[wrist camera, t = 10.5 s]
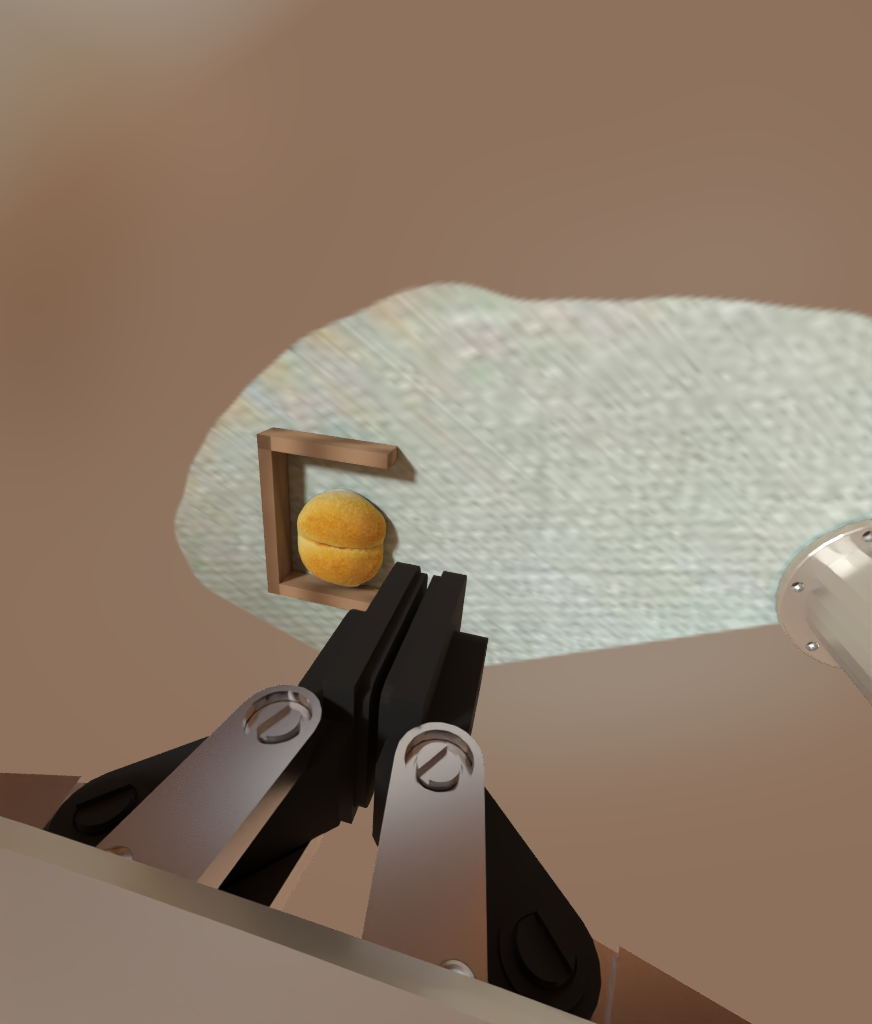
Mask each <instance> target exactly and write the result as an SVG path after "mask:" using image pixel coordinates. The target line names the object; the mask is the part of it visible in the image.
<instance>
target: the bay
mask: <svg viewBox="0 0 872 1024" xmlns="http://www.w3.org/2000/svg"><path fill="white" fill-rule="evenodd" d="M257 443H258V456H259V470H260V484H261V498H262V512H263V525H264V539H265V553H266V567H267V580H268V592H270V593H274V594H279V595H284V596H288V597H293V598H297V599H302V600H307V601H311V602H316V603H320V604H325V605H329V606H334V607H339V608H343V609H348V610H351V609H357V610H362V611H366V610H367V608H368V607H369V605H370V603H371V602H372V600H373V599H374V597H375V595H376V594H377V592H378V591H379V589H378V588H373V587H368V586H364V585H359V586H354V587H348V586H343V585H337V584H333V583H331V582H327V581H325V580H322V579H320V578H318V577H316V576H315V575H311V574H306V573H301V572H296V571H293V570H292V548H291V527H290V505H289V484H288V462H287V453H290V454H296V455H302V456H308V457H315V458H321V459H327V460H333V461H339V462H346V463H352V464H358V465H364V466H370V467H377V468H383V469H388V468H389V467H390V466H391V465H392V464H393V463H394V462H395V461H396V458H397V446H393V445H386V444H379V443H373V442H366V441H360V440H353V439H346V438H340V437H333V436H327V435H320V434H313V433H307V432H300V431H293V430H287V429H280V428H274V427H273V428H271V429H268V430H266V431H263V432H261V433H259V434H257Z"/></svg>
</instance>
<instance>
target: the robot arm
mask: <svg viewBox="0 0 872 1024" xmlns="http://www.w3.org/2000/svg"><path fill="white" fill-rule="evenodd" d="M427 581H428V575H427V574H425V573H421V569H420V566H416V565H411V564H406V563H401V562H397V563H396V564H395V565H394V567H393V568H392V570H391V572H390V573H389V575H388V576H387V578H386V580H385V581H384V583H383V584H382V586H381V587H380V589H379V591H378V592H377V594H376V595H375V597H374V599H373V600H372V602H371V603H370V605H369V607H368V608H367V610H366V611H362V610H357V609H351V610H350V611H349V612H348V613H347V614H346V616H345V617H344V619H343V620H342V622H341V623H340V625H339V626H338V628H337V629H336V630H335V632H334V633H333V635H332V636H331V638H330V639H329V641H328V642H327V644H326V645H325V647H324V648H323V649H322V651H321V652H320V654H319V655H318V657H317V658H316V660H315V661H314V663H313V664H312V666H311V667H310V669H309V670H308V671H307V673H306V674H305V676H304V677H303V679H302V680H301V682H300V683H299V685H298V686H296V685H277V686H273V687H269V688H266V689H264V690H261V691H259V692H257V693H255V694H254V695H252V696H251V697H250V698H248V699H247V700H246V701H245V702H244V703H243V704H242V705H241V706H239V707H238V708H237V709H236V710H235V712H233V713H232V714H231V715H230V716H229V717H228V718H227V719H226V720H225V721H224V722H223V723H222V724H221V725H220V726H219V727H218V728H217V729H216V730H215V731H214V732H213V733H212V734H211V735H210V736H208V737H205V738H202V739H200V740H197V741H194V742H192V743H189V744H186V745H183V746H180V747H178V748H175V749H172V750H169V751H167V752H164V753H161V754H158V755H155V756H153V757H150V758H147V759H144V760H142V761H139V762H136V763H133V764H131V765H128V766H125V767H123V768H120V769H117V770H114V771H111V772H109V773H106V774H104V775H102V776H100V777H98V778H95V779H93V780H91V781H90V782H88V783H83V780H82V777H81V776H66V775H43V774H19V773H0V1024H751V1023H750V1022H748V1021H746V1020H745V1019H743V1018H741V1017H740V1016H738V1015H736V1014H734V1013H733V1012H731V1011H729V1010H728V1009H726V1008H724V1007H723V1006H721V1005H719V1004H717V1003H716V1002H714V1001H712V1000H710V999H709V998H707V997H706V996H704V995H702V994H700V993H699V992H697V991H695V990H694V989H692V988H690V987H689V986H687V985H685V984H683V983H682V982H680V981H678V980H677V979H675V978H673V977H672V976H670V975H668V974H666V973H665V972H663V971H661V970H660V969H658V968H656V967H654V966H653V965H651V964H649V963H647V962H646V961H644V960H642V959H641V958H639V957H637V956H636V955H634V954H632V953H631V952H629V951H627V950H626V949H624V948H622V947H620V946H619V947H618V949H617V951H616V952H615V951H613V950H611V949H610V948H608V947H606V946H605V945H603V944H601V943H600V942H598V941H596V940H594V939H593V938H592V937H591V936H590V934H589V932H588V930H587V928H586V927H585V925H584V923H583V921H582V920H581V918H580V917H579V916H578V914H577V913H576V912H575V910H574V909H573V908H572V906H571V905H570V903H569V902H568V901H567V899H566V898H565V896H564V895H563V894H562V892H561V891H560V890H559V888H558V887H557V885H556V884H555V883H554V881H553V880H552V879H551V877H550V876H549V874H548V873H547V872H546V870H545V869H544V868H543V866H542V865H541V863H540V862H539V861H538V859H537V858H536V857H535V855H534V854H533V852H532V851H531V850H530V848H529V847H528V846H527V844H526V843H525V842H524V840H523V839H522V837H521V836H520V835H519V833H518V832H517V831H516V829H515V828H514V826H513V825H512V824H511V822H510V821H509V819H508V818H507V817H506V815H505V814H504V813H503V811H502V810H501V809H500V807H499V806H498V804H497V803H496V802H495V800H494V799H493V798H492V796H491V795H490V793H489V792H488V791H487V789H486V788H485V786H484V762H483V757H482V752H481V750H480V748H479V747H478V745H477V743H476V741H475V740H474V739H473V738H472V737H471V732H472V727H473V721H474V717H475V711H476V706H477V701H478V696H479V691H480V685H481V680H482V674H483V668H484V662H485V656H486V650H487V644H488V638H486V637H481V636H477V635H472V634H468V633H463V632H460V627H461V620H462V612H463V605H464V597H465V589H466V582H467V575H462V574H457V573H452V572H447V571H443V573H442V576H436V575H434V576H433V577H432V580H431V582H430V584H429V586H428V588H427ZM776 612H777V616H778V620H779V622H780V624H781V626H782V628H783V629H784V631H785V633H786V634H787V636H788V637H789V638H790V639H791V641H792V642H793V643H794V644H795V645H796V646H797V647H798V648H799V649H800V650H801V651H802V652H803V653H805V654H806V655H808V656H810V657H812V658H814V659H815V660H817V661H819V662H822V663H824V664H827V665H830V666H833V667H836V668H841V669H843V670H844V672H845V673H846V674H847V675H848V677H849V678H850V679H851V680H852V682H853V683H854V684H855V685H856V687H857V688H858V689H859V690H860V692H861V693H862V694H863V695H864V697H865V698H866V699H867V700H868V701H869V703H870V704H871V705H872V519H868V520H863V521H860V522H856V523H853V524H849V525H846V526H843V527H841V528H839V529H837V530H834V531H832V532H830V533H828V534H826V535H824V536H822V537H821V538H819V539H818V540H816V541H814V542H813V543H811V544H810V545H809V546H807V547H806V548H805V549H804V550H803V551H802V552H801V553H799V554H798V555H797V556H796V557H795V559H794V560H793V561H792V562H791V563H790V565H789V566H788V567H787V568H786V570H785V572H784V574H783V576H782V578H781V580H780V582H779V585H778V589H777V592H776ZM374 790H375V791H374ZM373 793H374V812H373V813H374V814H373V833H372V836H373V838H374V840H375V843H376V845H377V847H378V851H377V857H376V862H375V867H374V873H373V879H372V884H371V889H370V895H369V901H368V906H367V912H366V917H365V923H364V928H363V934H362V939H360V938H357V937H354V936H351V935H348V934H346V933H343V932H340V931H337V930H334V929H331V928H328V927H326V926H323V925H320V924H316V923H314V922H311V921H308V920H305V919H302V918H299V917H297V916H294V915H291V914H288V913H285V912H282V911H281V910H282V909H283V907H284V905H285V904H286V902H287V900H288V899H289V897H290V895H291V894H292V892H293V890H294V889H295V887H296V885H297V884H298V882H299V880H300V879H301V877H302V875H303V874H304V872H305V870H306V869H307V867H308V865H309V864H310V862H311V860H312V859H313V857H314V855H315V854H316V852H317V850H318V848H319V846H320V844H321V841H322V839H323V834H324V833H326V832H328V831H329V830H331V829H333V828H335V827H337V826H339V824H340V822H341V821H344V822H347V823H350V824H352V821H353V819H354V816H355V814H356V811H357V809H358V806H361V807H364V808H367V807H368V805H369V803H370V801H371V798H372V795H373Z"/></svg>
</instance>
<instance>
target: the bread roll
mask: <svg viewBox="0 0 872 1024" xmlns="http://www.w3.org/2000/svg"><path fill="white" fill-rule="evenodd" d="M297 530H298V550H299V554H300V556H301V559H302V562H303V564H304V565H305V567H306V568H307V569H308V570H309V571H310V572H311V573H312V574H313V575H315V576H316V577H318V578H320V579H322V580H325V581H327V582H331V583H333V584H337V585H343V586H348V587H354V586H359V585H360V584H361V583H364V582H366V581H368V580H370V579H372V578H373V577H374V576H375V575H376V574H377V572H378V570H379V568H380V567H381V564H382V561H383V543H384V538H385V535H386V522H385V519H384V517H383V516H382V514H381V513H380V512H379V511H378V510H377V509H376V508H375V507H374V506H373V505H372V504H371V503H370V502H368V501H367V500H366V499H365V498H364V497H362V496H361V495H359V494H358V493H356V492H354V491H351V490H346V489H334V490H330V491H326V492H323V493H321V494H319V495H316V496H315V497H314V498H312V499H311V500H310V501H309V502H308V503H307V504H306V505H305V506H304V508H303V509H302V511H301V512H300V514H299V516H298V520H297Z"/></svg>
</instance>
